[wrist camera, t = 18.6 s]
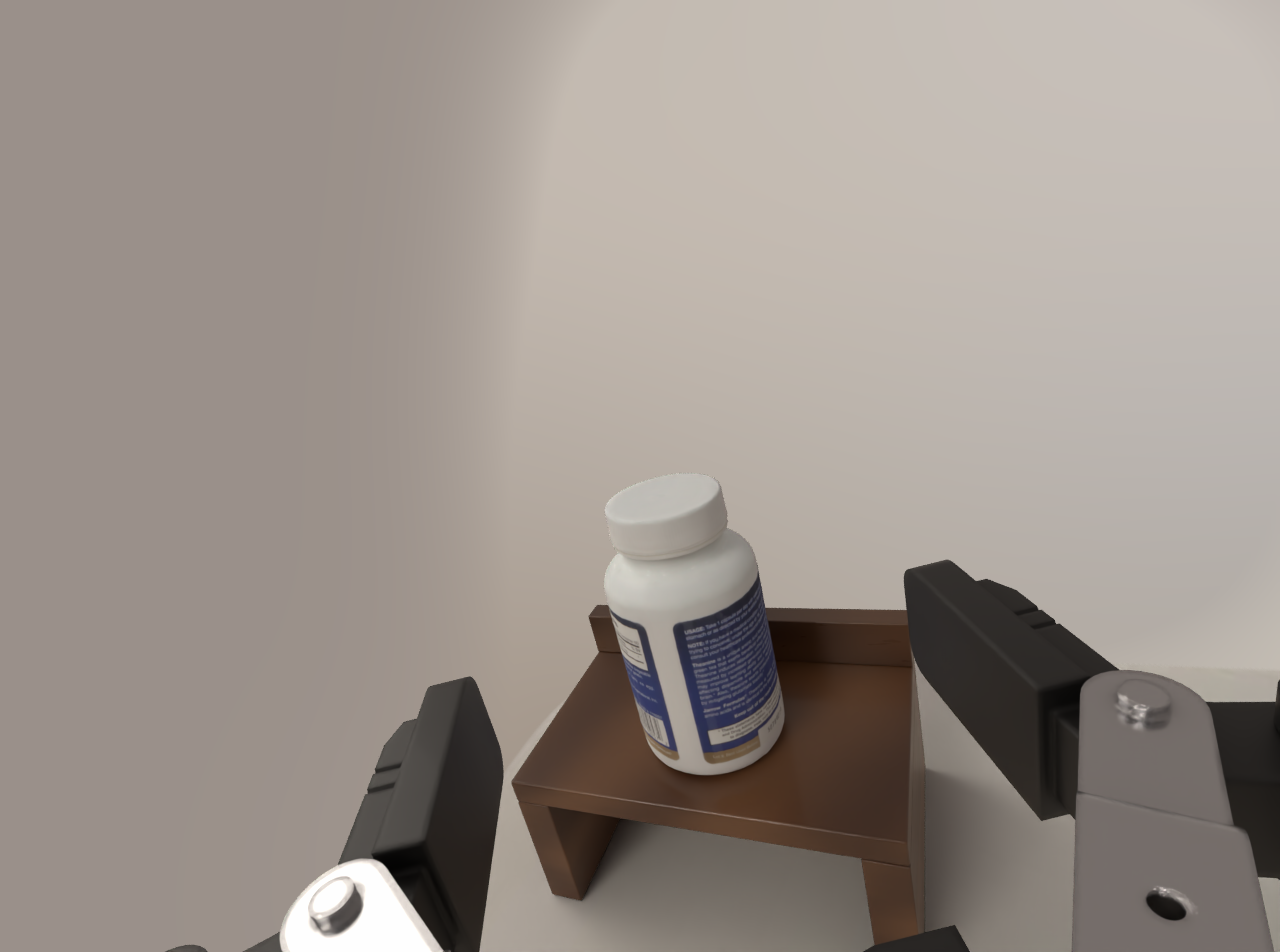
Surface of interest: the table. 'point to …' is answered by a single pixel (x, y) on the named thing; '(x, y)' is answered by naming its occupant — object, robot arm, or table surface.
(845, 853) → the shelf
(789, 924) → the table surface
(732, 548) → the pill bottle
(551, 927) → the table surface
